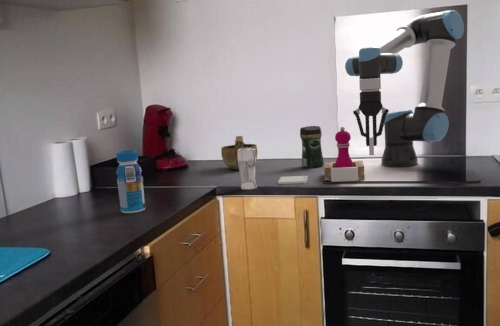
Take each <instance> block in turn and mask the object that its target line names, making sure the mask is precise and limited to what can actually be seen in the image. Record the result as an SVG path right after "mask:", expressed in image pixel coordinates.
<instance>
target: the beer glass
mask: <svg viewBox="0 0 500 326" xmlns="http://www.w3.org/2000/svg"><path fill="white" fill-rule="evenodd" d="M238 166H239V170H238V171H239V174H240V179H241V185H240V189H241V190H243V191H250V190H255V189H257V188H258V185H257V182H256V169H257V159H256V154H255V148H243V149H238Z"/></svg>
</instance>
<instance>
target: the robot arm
mask: <svg viewBox="0 0 500 326" xmlns="http://www.w3.org/2000/svg"><path fill="white" fill-rule="evenodd" d="M464 24H465V23H464V20H463V18H462V15H461V14H460V13H459V12H458V11H457V10H454V9H453V10H452V9H451V10H444V11H440V12H433V13H427V14H423V15H419V16H417V17H415V18H413V19H411V20H409V21H407V22H406V23H404V24H403V25H401V26H400V27H398V28H397V29H396V31H395V32H394V33H393V34H391V35H389V36H388V37H386V38H384V40H382V41H380V42H378V43H377V44H376V45H374V46H369V47H362V48H360V49H359V51H358V56H352V57H349V58H347V60H346V61H345V65H344V68H345V71H346V74H347V75H349V76H351V77H359V91H361V92H359V105H358V108H356V109H355V110H353V111H352V113H353V115H354V117H356V121H357V126H358V128H359V133H360V136H362V137H365V145H366V147H368V148H369V149H368V150H369V152H368V155H369V156H374V155H375V147H376V146H378V145H377V144H378V142H377V139H378V137H379V136H381V135H383V130H384V141H385V142H384V143H385V144H384V149H383V150H384V151H383V154H382V157H381V165H382V166H384V167H393V168H394V167H396V168H397V167H400V168H401V167H403V168H404V167H412V166H416V165H418V164H419V163H418V162H419V161H418V156H417V154H416V153H417V152H416V151H415V148H414V142H426V143H436V142H439V141H441V140H442V139H443V138H445V136H446V135H447V133H448V130H449V125H450V124H449V123H450V122H449V117H448V116H447V114H445V111H446V110H445V109H444V108H443V107H442V106H443V105H442V104H443V99H444V98H443V97H444V92H445V86H446V80H447V73H448V68H449V63H450V61H449V60H450V54H451V49H453V48H454V47H455V46H456V43H457V40H459V39H461V38H462V37H463V35H464V33H465V32H464V31H465V25H464ZM419 44H425V45H426V47H427V49H428V50H427V54H426V60H425V61H426V62H425V69H424V75H423V80H422V85H421V92H420V97H419V103H418V105H416V106H415V107H414V112H413V110H412V109H406V110H400V111H392V112H390V111H389V109H388V108H385V107H383V103H382V91H381V89H382V88H381V87H382V84H381V79H382V78H381V75H387V74H389V75H393V74H396V73H398V72H400V71H401V70H402V67H403V65H404V64H403V58H402V56H401V55H400V54H398V53H399V52H401V51H402V50H403V49H405V48H407V49H408V48H409V49H410V48H411V47H413V46H415V45H419ZM380 112H381V114H382V115H381V118H380V122H379V127H378V130H377V116H378V115H379V114H380ZM361 113H362V114H363V116H365V117H364V119H365V130H364V127H363V124H362V121H361V117H360V114H361ZM370 117H372V118H371V119H372V136H370ZM364 131H365V132H364Z"/></svg>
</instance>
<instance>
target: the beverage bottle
mask: <svg viewBox="0 0 500 326" xmlns="http://www.w3.org/2000/svg"><path fill="white" fill-rule="evenodd" d="M138 160H139V154H138V150H135V149H132V150H131V149H129V150H121V151H117V152H116V161H117V163H119V164H118V166H117V168H116V173H115V174H116V175H117V179H116V183H117V188H118V189H117V190H118V197H119V206H120V207H119V209H120V212H121V213H122V214H135V213H140V212H143V211H145V210H146V200H145V192H144V189H145V188H144V176H143V175H142V172H143V170H142V168H141V166H140V164H139V163H138Z"/></svg>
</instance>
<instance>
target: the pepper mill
mask: <svg viewBox="0 0 500 326" xmlns="http://www.w3.org/2000/svg"><path fill="white" fill-rule="evenodd" d="M351 137H352V136H351V134H350V132H349V131H346V129H345V127H344V126H342V127H341V126H340V128H339V131H337V132H336V134H335V136H334V140H335V141H336V148H337V150H338V152H337V153H338V154H337V158H336V160H335V161H334V162H335V168H341V167H353V162H352V161H353V160H352V158H351V156H350V153H349V151H350V150H349V149H350V148H349V147H350V141H351V139H352V138H351Z"/></svg>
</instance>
